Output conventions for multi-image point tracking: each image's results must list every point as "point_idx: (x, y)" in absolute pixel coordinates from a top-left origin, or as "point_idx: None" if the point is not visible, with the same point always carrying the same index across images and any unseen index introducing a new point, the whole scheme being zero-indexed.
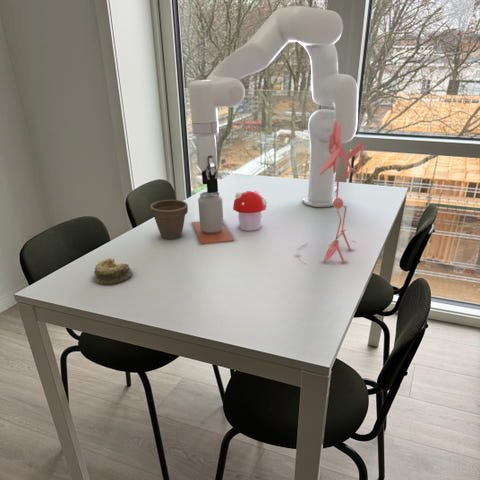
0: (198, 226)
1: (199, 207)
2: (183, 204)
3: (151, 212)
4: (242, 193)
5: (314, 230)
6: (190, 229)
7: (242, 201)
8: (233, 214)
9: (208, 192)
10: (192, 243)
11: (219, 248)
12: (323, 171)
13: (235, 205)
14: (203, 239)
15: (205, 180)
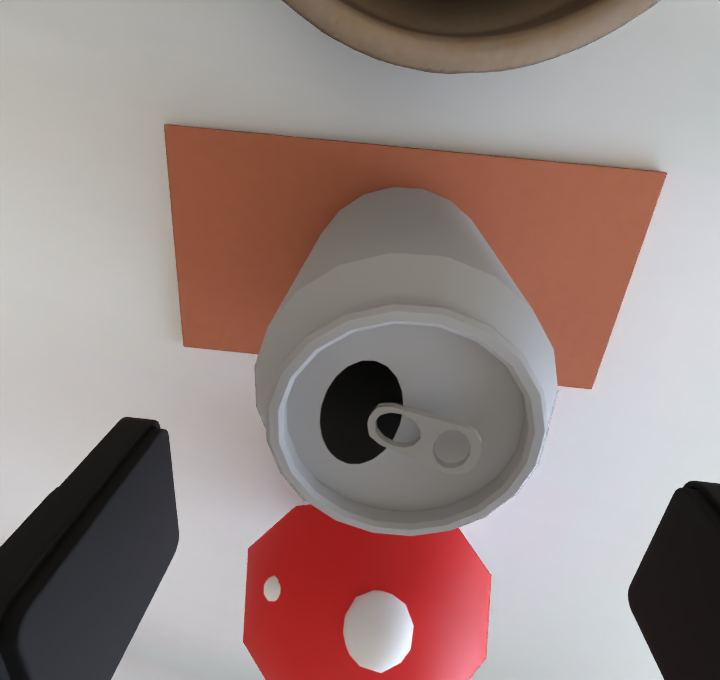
0: (537, 196)
1: (386, 232)
2: (541, 21)
3: None
4: (373, 675)
5: (232, 665)
6: (524, 116)
7: (287, 605)
8: (651, 476)
9: (129, 426)
10: (204, 60)
11: (77, 232)
12: None
13: (347, 536)
14: (241, 164)
15: (698, 567)
